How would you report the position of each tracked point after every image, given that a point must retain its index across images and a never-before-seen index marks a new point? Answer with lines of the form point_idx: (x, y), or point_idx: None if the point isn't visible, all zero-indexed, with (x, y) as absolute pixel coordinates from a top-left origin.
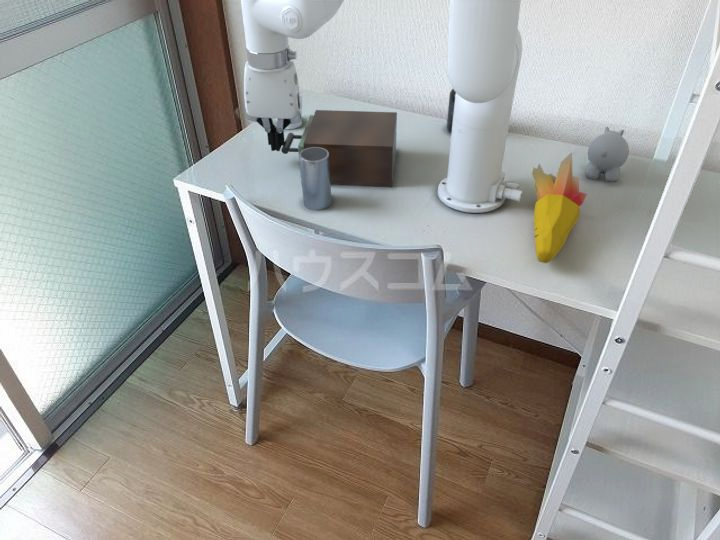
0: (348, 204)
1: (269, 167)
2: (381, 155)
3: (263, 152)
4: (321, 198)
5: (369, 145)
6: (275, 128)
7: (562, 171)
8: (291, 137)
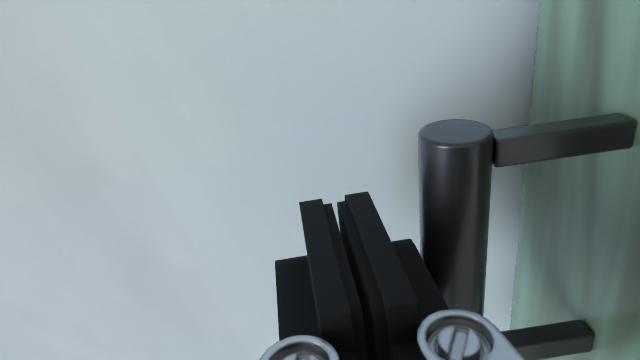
0: None
1: (281, 237)
2: None
3: (148, 59)
4: None
5: None
6: (363, 347)
7: None
8: (485, 221)
